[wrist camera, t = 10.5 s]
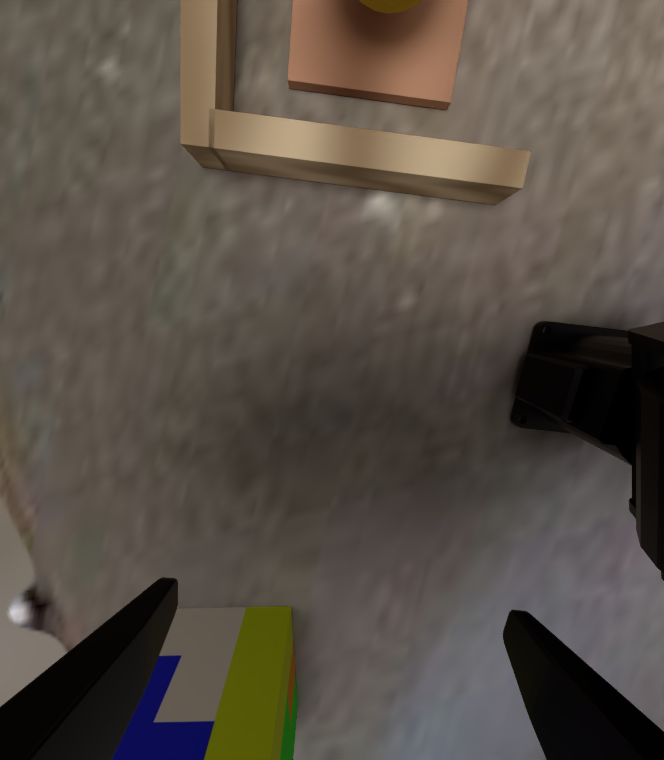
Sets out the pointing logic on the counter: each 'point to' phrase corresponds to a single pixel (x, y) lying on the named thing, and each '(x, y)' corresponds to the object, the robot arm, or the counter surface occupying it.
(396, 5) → the lemon
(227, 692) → the puzzle toy
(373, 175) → the wooden corner frame
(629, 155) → the counter surface
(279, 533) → the counter surface
